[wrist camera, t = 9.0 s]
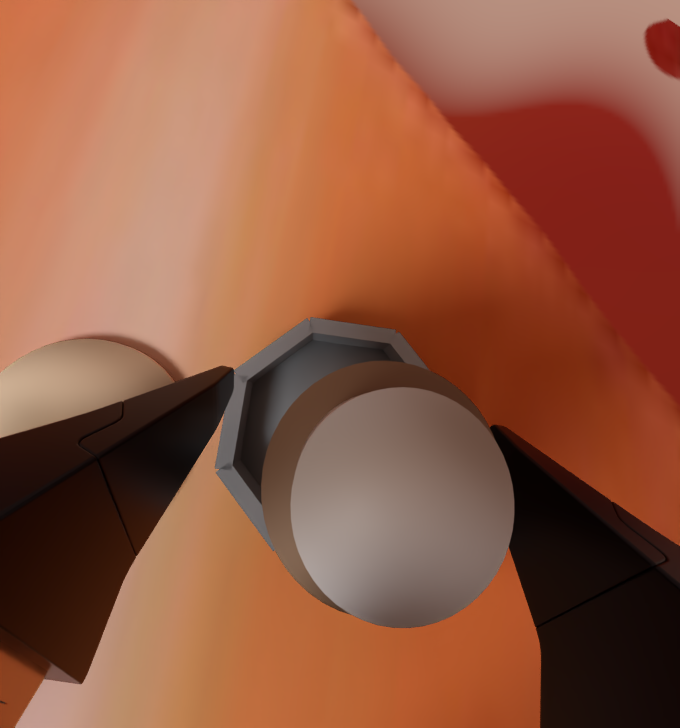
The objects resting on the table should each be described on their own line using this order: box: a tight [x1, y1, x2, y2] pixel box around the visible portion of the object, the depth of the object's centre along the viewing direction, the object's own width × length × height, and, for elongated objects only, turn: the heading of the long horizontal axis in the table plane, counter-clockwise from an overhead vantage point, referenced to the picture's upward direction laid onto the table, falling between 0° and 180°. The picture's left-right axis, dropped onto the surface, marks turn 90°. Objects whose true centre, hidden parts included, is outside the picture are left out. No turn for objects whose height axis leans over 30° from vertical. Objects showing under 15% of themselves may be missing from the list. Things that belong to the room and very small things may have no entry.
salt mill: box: [261, 361, 514, 628], centre depth 11 cm, size 5×5×13 cm
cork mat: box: [0, 339, 175, 438], centre depth 17 cm, size 11×11×1 cm
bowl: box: [215, 317, 429, 551], centre depth 17 cm, size 12×12×2 cm
